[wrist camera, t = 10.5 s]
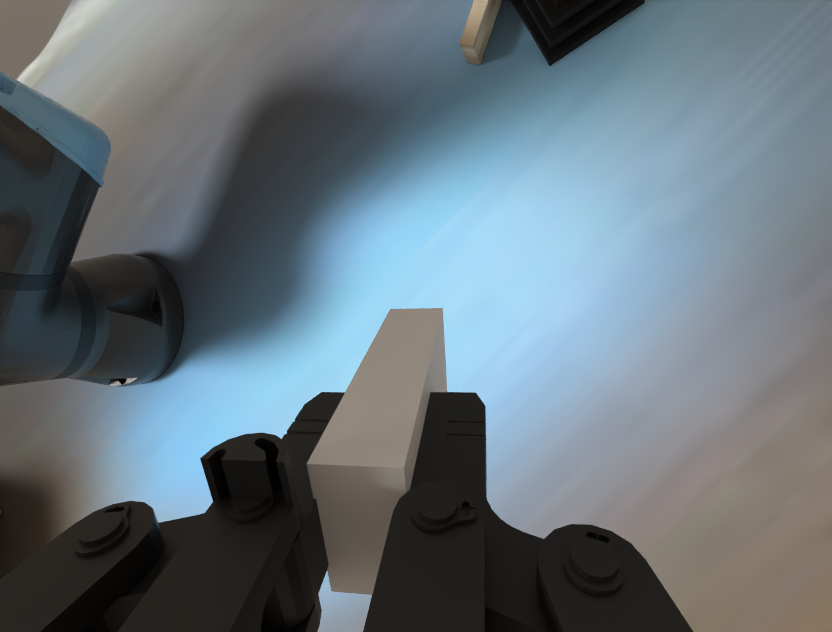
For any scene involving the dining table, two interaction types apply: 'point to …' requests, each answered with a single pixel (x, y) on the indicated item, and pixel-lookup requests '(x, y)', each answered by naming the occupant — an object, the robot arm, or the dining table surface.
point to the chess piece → (569, 21)
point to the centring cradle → (479, 29)
